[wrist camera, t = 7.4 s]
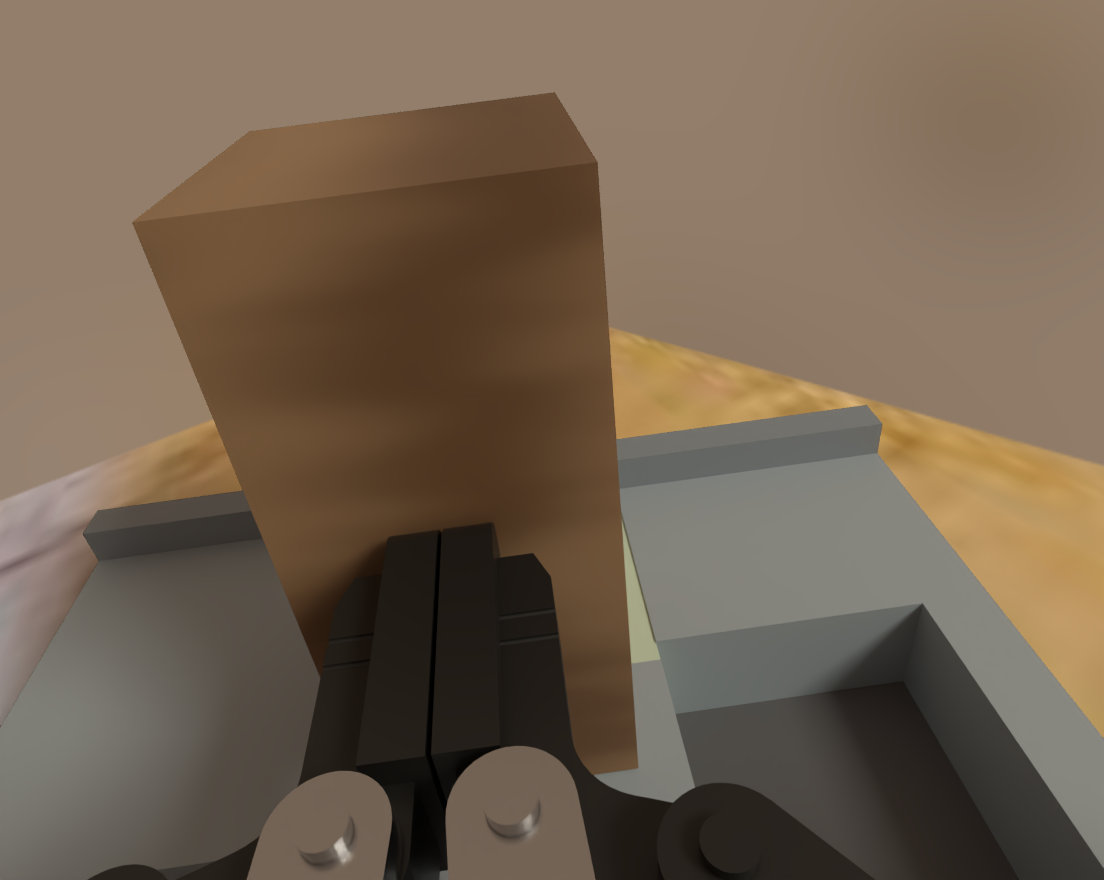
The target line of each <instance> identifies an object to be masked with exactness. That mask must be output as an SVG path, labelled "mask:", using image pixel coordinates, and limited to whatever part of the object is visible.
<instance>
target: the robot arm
mask: <svg viewBox="0 0 1104 880" xmlns="http://www.w3.org/2000/svg"><path fill="white" fill-rule="evenodd" d="M328 640H329V645H328V646H327V648H326V653H325V658H324V663H323V668H324V671H323V672H322V673H321V678H320V683H319V688H318V693H317V698H316V703H315V708H314V713H313V718H312V723H311V727H310V732H309V737H308V742H307V747H306V752H305V757H304V762H303V767H302V772H301V776H300V779H299V783H298V786H297V788H295V789H294V790H293V791H292V792H290V793H289V794H288V795H287V796H286V797H285V798H284V799H283V800H282V801H281V802H280V803H279V804H278V805H277V807H276V808H275V809H274V811H273V812H272V813H271V815H270V816H269V818H268V820H267V822H266V823H265V825H264V827H263V830H262V832H261V835H260V836H259V837H258V838H256V839H255V840H254V841H252V842H251V843H249V844H248V845H246V846H245V847H243V848H241V849H239V850H237V851H236V852H234V853H232V854H230V855H228V856H226V857H223V858H221V859H219V860H217V861H215V862H213V863H211V864H209V865H206V866H204V867H202V868H200V869H198V870H196V871H194V872H191V873H189V874H187V875H185V876H183V877H181V878H179V879H176V880H440V871H446V870H448V880H875V879H874V878H872V877H871V876H870V875H869V874H867V873H866V872H865V871H863V870H862V869H861V868H859V867H858V866H857V865H855V864H854V863H853V862H851V861H850V860H849V859H848V858H846V857H845V856H844V855H842V854H841V853H840V852H838V851H837V850H836V849H834V848H833V847H832V846H831V845H829V844H828V843H827V842H825V841H824V840H823V839H821V838H820V837H819V836H817V835H816V834H815V833H813V832H812V831H811V830H810V829H808V828H807V827H806V826H804V825H803V824H802V823H800V822H799V821H798V820H796V819H795V818H794V817H792V816H791V815H790V814H789V813H787V812H786V811H785V810H783V809H782V808H781V807H779V806H778V805H777V804H775V803H774V802H773V801H771V800H770V799H769V798H767V797H765V796H764V795H762V794H761V793H759V792H757V791H755V790H753V789H750V788H748V787H745V786H741V785H738V784H731V783H710V784H705V785H701V786H698V787H695V788H693V789H691V790H689V791H687V792H686V793H684V794H682V795H681V796H680V797H679V798H678V799H677V800H675V801H674V802H673V803H672V802H667V801H662V800H657V799H652V798H646V797H641V796H636V795H632V794H628V793H624V792H621V791H618V790H616V789H614V788H612V787H609V786H608V785H606V784H605V783H603V782H601V781H600V780H599V779H597V778H596V777H595V776H594V775H593V774H591V773H590V771H589V770H588V769H587V768H586V767H585V766H584V764H583V763H582V761H581V760H580V758H579V757H578V755H577V753H576V750H575V748H574V744H573V736H572V728H571V721H570V713H569V705H568V697H567V689H566V682H565V674H564V666H563V658H562V650H561V643H560V636H559V629H558V622H557V615H556V608H555V601H554V594H553V587H552V580H551V576H550V575H549V573H548V572H547V571H546V569H545V568H544V567H543V565H542V564H541V563H540V561H539V560H538V559H537V557H536V556H535V555H534V553H529V554H522V555H515V556H507V557H501V556H500V551H499V546H498V540H497V535H496V530H495V526H494V523H493V522H489V523H482V524H475V525H467V526H460V527H453V528H446V529H443V531H442V532H441V531H440V530H433V531H425V532H418V533H411V534H404V535H396V536H390V537H389V538H388V539H387V543H386V549H385V556H384V563H383V571H382V574H379V575H372V576H365V577H357V578H355V579H354V580H353V582H352V583H351V584H350V586H349V587H348V589H347V590H346V592H345V593H344V595H343V596H342V598H341V599H340V600H339V602H338V603H337V605H336V606H335V609H334V614H333V619H332V623H331V628H330V633H329V638H328ZM88 880H167V879H166V877H165V876H164V875H163V874H162V873H161V872H159V871H158V870H156V869H155V868H152V867H149V866H146V865H138V864H131V865H122V866H118V867H114V868H111V869H108V870H106V871H103V872H101V873H98V874H97V875H95V876H93V877H91V878H89V879H88Z"/></svg>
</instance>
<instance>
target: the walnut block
mask: <svg viewBox="0 0 1104 880" xmlns="http://www.w3.org/2000/svg"><path fill="white" fill-rule="evenodd" d="M601 223H602V222H601V208H600V193H599V178H598V164H597V161H596V159H595V157H594V156H593V154H592V152H591V151H590V149H589V148H588V146H587V145H586V143H585V141H584V139H583V138H582V136H581V135H580V133H579V132H578V130H577V128H576V126H575V125H574V123H573V122H572V120H571V118H570V116H569V115H568V113H567V112H566V110H565V108H564V107H563V105H562V103H561V102H560V100H559V99H558V97H557V95H556V94H555V93H547V94H539V95H532V96H523V97H515V98H507V99H500V100H492V101H484V102H476V103H469V104H460V105H453V106H445V107H437V108H429V109H422V110H414V111H406V112H398V113H390V114H382V115H374V116H366V117H359V118H351V119H343V120H335V121H327V122H319V123H311V124H304V125H296V126H289V127H280V128H272V129H264V130H256V131H250V132H248V133H247V134H245V136H243V137H242V138H240V139H239V140H238V141H236V142H235V143H234V144H233V145H231V146H230V147H229V148H227V149H226V150H225V151H224V152H222V153H221V154H220V155H218V156H217V157H216V158H215V159H213V160H212V161H211V162H209V163H208V164H207V165H206V166H204V167H203V168H202V169H200V170H199V171H198V172H196V173H195V174H194V175H193V176H191V177H190V178H189V179H187V180H186V181H185V182H184V183H182V184H181V185H180V186H178V187H177V188H176V189H174V190H173V191H172V192H171V193H169V194H168V195H167V196H165V197H164V198H163V199H162V200H161V201H159V202H158V203H156V204H155V205H154V206H153V207H151V208H150V209H149V210H147V211H146V212H145V213H144V214H142V215H141V216H140V217H138V218H137V219H136V220H134V221H133V226H134V228H135V230H136V233H137V235H138V238H139V240H140V243H141V245H142V247H143V250H144V252H145V255H146V257H147V259H148V262H149V264H150V267H151V269H152V272H153V274H154V276H155V279H156V281H157V284H158V286H159V289H160V291H161V293H162V296H163V298H164V301H165V303H166V306H167V308H168V310H169V313H170V315H171V318H172V320H173V322H174V325H175V327H176V330H177V332H178V335H179V337H180V339H181V342H182V344H183V346H184V349H185V352H186V354H187V356H188V359H189V361H190V364H191V366H192V368H193V371H194V373H195V376H196V378H197V381H198V383H199V385H200V388H201V390H202V393H203V395H204V398H205V400H206V402H207V405H208V407H209V410H210V412H211V415H212V417H213V419H214V422H215V424H216V427H217V429H218V432H219V434H220V436H221V439H222V441H223V444H224V446H225V448H226V451H227V453H228V456H229V458H230V461H231V463H232V465H233V468H234V470H235V473H236V475H237V478H238V480H239V482H240V485H241V487H242V490H243V492H244V494H245V497H246V499H247V502H248V504H249V507H250V509H251V511H252V514H253V516H254V519H255V521H256V524H257V526H258V528H259V531H260V533H261V536H262V538H263V541H264V543H265V545H266V548H267V550H268V553H269V555H270V557H271V560H272V562H273V565H274V567H275V570H276V572H277V574H278V577H279V579H280V582H281V584H282V587H283V589H284V591H285V594H286V596H287V599H288V601H289V604H290V606H291V608H292V611H293V613H294V616H295V618H296V620H297V623H298V625H299V628H300V630H301V633H302V635H303V637H304V640H305V642H306V645H307V647H308V650H309V652H310V654H311V657H312V659H313V662H314V664H315V667H316V669H317V671H318V674H319V676H320V678H321V673H322V672H323V671H324V668H323V663H324V658H325V653H326V648H327V646H328V645H329V640H328V638H329V633H330V628H331V623H332V619H333V614H334V609H335V606H336V605H337V603H338V602H339V600H340V599H341V598H342V596H343V595H344V593H345V592H346V590H347V589H348V587H349V586H350V584H351V583H352V582H353V580H354V579H355V578H357V577H365V576H372V575H379V574H382V571H383V563H384V556H385V549H386V543H387V539H388V538H389V537H390V536H396V535H404V534H411V533H418V532H425V531H433V530H440V531H441V532H442V531H443V529H446V528H453V527H460V526H467V525H475V524H482V523H489V522H493V523H494V526H495V530H496V535H497V540H498V546H499V551H500V556H501V557H507V556H515V555H522V554H529V553H534V555H535V556H536V557H537V559H538V560H539V561H540V563H541V564H542V565H543V567H544V568H545V569H546V571H547V572H548V573H549V575H550V576H551V580H552V587H553V594H554V601H555V608H556V615H557V622H558V629H559V636H560V643H561V650H562V658H563V666H564V674H565V682H566V689H567V697H568V705H569V713H570V721H571V728H572V736H573V744H574V748H575V750H576V753H577V755H578V757H579V758H580V760H581V761H582V763H583V764H584V766H585V767H586V768H587V769H588V770H589V771H590V773H591V774H593V775H596V774H603V773H610V772H617V771H624V770H630V769H637V768H638V754H637V739H636V724H635V709H634V695H633V680H632V665H631V650H630V636H629V621H628V606H627V591H626V577H625V562H624V547H623V532H622V518H621V503H620V488H619V473H618V459H617V444H616V429H615V414H614V399H613V385H612V370H611V355H610V340H609V326H608V312H607V296H606V281H605V268H604V252H603V238H602V224H601Z"/></svg>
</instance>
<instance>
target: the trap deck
mask: <svg viewBox="0 0 1104 880" xmlns="http://www.w3.org/2000/svg"><path fill="white" fill-rule="evenodd" d="M881 429H882V423H881V422H880V420H879V419H878V418H877V417H876V416H875V414H874V413H873V412H872V411H871V410H870V409H869V407H868V406H867V405H864V406H856V407H849V408H842V409H834V410H827V411H820V412H813V413H805V414H798V415H791V416H783V417H776V418H769V419H762V420H754V421H747V422H740V423H732V424H725V425H718V426H711V427H703V428H696V429H689V430H681V431H674V432H667V433H660V434H652V435H645V436H638V437H630V438H623V439H616V444H617V459H618V473H619V488H620V503H621V518H622V532H623V547H624V562H625V577H626V591H627V606H628V621H629V636H630V650H631V665H632V680H633V695H634V709H635V724H636V739H637V754H638V768H637V769H630V770H624V771H617V772H610V773H603V774H596V775H594V776H595V777H596V778H597V779H599V780H600V781H601V782H603V783H605V784H606V785H608V786H609V787H612V788H614V789H616V790H618V791H621V792H624V793H628V794H632V795H636V796H641V797H646V798H652V799H657V800H662V801H667V802H672V803H673V802H674V801H675V800H677V799H678V798H679V797H680V796H681V795H682V794H684V793H686V792H687V791H689V790H691V789H693V788H695V787H698V786H701V785H705V784H710V783H731V784H738V785H741V786H745V787H748V788H750V789H753V790H755V791H757V792H759V793H761V794H762V795H764V796H765V797H767V798H769V799H770V800H771V801H773V802H774V803H775V804H777V805H778V806H779V807H781V808H782V809H783V810H785V811H786V812H787V813H789V814H790V815H791V816H792V817H794V818H795V819H796V820H798V821H799V822H800V823H802V824H803V825H804V826H806V827H807V828H808V829H810V830H811V831H812V832H813V833H815V834H816V835H817V836H819V837H820V838H821V839H823V840H824V841H825V842H827V843H828V844H829V845H831V846H832V847H833V848H834V849H836V850H837V851H838V852H840V853H841V854H842V855H844V856H845V857H846V858H848V859H849V860H850V861H851V862H853V863H854V864H855V865H857V866H858V867H859V868H861V869H862V870H863V871H865V872H866V873H867V874H869V875H870V876H871V877H872V878H874V879H875V880H1104V738H1103V737H1102V736H1101V735H1100V733H1099V732H1098V731H1097V730H1096V728H1095V727H1094V726H1093V725H1092V723H1091V722H1090V721H1089V719H1088V718H1087V717H1086V716H1085V714H1084V713H1083V712H1082V711H1081V709H1080V708H1079V707H1078V706H1077V704H1076V703H1075V702H1074V701H1073V699H1072V698H1071V697H1070V696H1069V694H1068V693H1067V692H1066V690H1065V689H1064V688H1063V687H1062V685H1061V684H1060V683H1059V682H1058V680H1057V679H1056V678H1055V677H1054V675H1053V674H1052V673H1051V672H1050V670H1049V669H1048V668H1047V667H1046V665H1045V664H1044V663H1043V661H1042V660H1041V659H1040V658H1039V656H1038V655H1037V654H1036V653H1035V651H1034V650H1033V649H1032V648H1031V646H1030V645H1029V644H1028V643H1027V641H1026V640H1025V639H1024V638H1023V636H1022V635H1021V634H1020V632H1019V631H1018V630H1017V629H1016V627H1015V626H1014V625H1013V624H1012V622H1011V621H1010V620H1009V619H1008V617H1007V616H1006V615H1005V614H1004V612H1003V611H1002V610H1001V609H1000V607H999V606H998V605H997V603H996V602H995V601H994V600H993V598H992V597H991V596H990V595H989V593H988V592H987V591H986V590H985V588H984V587H983V586H982V585H981V583H980V582H979V581H978V580H977V578H976V577H975V576H974V574H973V573H972V572H971V571H970V569H969V568H968V567H967V566H966V564H965V563H964V562H963V561H962V559H961V558H960V557H959V556H958V554H957V553H956V552H955V551H954V549H953V548H952V547H951V546H950V544H949V543H948V542H947V540H946V539H945V538H944V537H943V535H942V534H941V533H940V532H939V530H938V529H937V528H936V527H935V525H934V524H933V523H932V522H931V520H930V519H929V518H928V517H927V515H926V514H925V513H924V511H923V510H922V509H921V508H920V506H919V505H918V504H917V503H916V501H915V500H914V499H913V498H912V496H911V495H910V494H909V493H908V491H907V490H906V489H905V488H904V486H903V485H902V484H901V482H900V481H899V480H898V479H897V477H896V476H895V475H894V474H893V472H892V471H891V470H890V469H889V467H888V466H887V465H886V464H885V462H884V461H883V460H882V459H881V457H880V456H879V455H878V453H877V452H878V446H879V441H880V435H881ZM83 536H84V537H85V539H86V540H87V542H88V544H89V545H90V547H91V549H92V550H93V552H94V554H95V555H96V557H97V559H98V560H99V562H98V563H97V565H96V567H95V569H94V570H93V572H92V574H91V575H90V577H89V579H88V580H87V582H86V584H85V585H84V587H83V589H82V590H81V592H80V594H79V596H78V597H77V599H76V601H75V602H74V604H73V606H72V607H71V609H70V611H69V612H68V614H67V616H66V617H65V619H64V621H63V623H62V624H61V626H60V628H59V629H58V631H57V633H56V634H55V636H54V638H53V639H52V641H51V643H50V644H49V646H48V648H47V650H46V651H45V653H44V655H43V656H42V658H41V660H40V661H39V663H38V665H37V666H36V668H35V670H34V671H33V673H32V675H31V677H30V678H29V680H28V682H27V683H26V685H25V687H24V688H23V690H22V692H21V693H20V695H19V697H18V699H17V700H16V702H15V704H14V705H13V707H12V709H11V710H10V712H9V714H8V715H7V717H6V719H5V720H4V722H3V724H2V726H1V727H0V880H88V879H89V878H91V877H93V876H95V875H97V874H98V873H101V872H103V871H106V870H108V869H111V868H114V867H118V866H122V865H131V864H138V865H146V866H149V867H152V868H155V869H156V870H158V871H159V872H161V873H162V874H163V875H164V876H165V877H166V879H167V880H176V879H179V878H181V877H183V876H185V875H187V874H189V873H191V872H194V871H196V870H198V869H200V868H202V867H204V866H206V865H209V864H211V863H213V862H215V861H217V860H219V859H221V858H223V857H226V856H228V855H230V854H232V853H234V852H236V851H237V850H239V849H241V848H243V847H245V846H246V845H248V844H249V843H251V842H252V841H254V840H255V839H256V838H258V837H259V836H260V835H261V832H262V830H263V827H264V825H265V823H266V822H267V820H268V818H269V816H270V815H271V813H272V812H273V811H274V809H275V808H276V807H277V805H278V804H279V803H280V802H281V801H282V800H283V799H284V798H285V797H286V796H287V795H288V794H289V793H290V792H292V791H293V790H294V789H295V788H297V786H298V783H299V779H300V776H301V772H302V767H303V762H304V757H305V752H306V747H307V742H308V737H309V732H310V727H311V723H312V718H313V713H314V708H315V703H316V698H317V693H318V688H319V683H320V676H319V674H318V671H317V669H316V667H315V664H314V662H313V659H312V657H311V654H310V652H309V650H308V647H307V645H306V642H305V640H304V637H303V635H302V633H301V630H300V628H299V625H298V623H297V620H296V618H295V616H294V613H293V611H292V608H291V606H290V604H289V601H288V599H287V596H286V594H285V591H284V589H283V587H282V584H281V582H280V579H279V577H278V574H277V572H276V570H275V567H274V565H273V562H272V560H271V557H270V555H269V553H268V550H267V548H266V545H265V543H264V541H263V538H262V536H261V533H260V531H259V528H258V526H257V524H256V521H255V519H254V516H253V514H252V511H251V509H250V507H249V504H248V502H247V499H246V497H245V494H244V492H243V491H237V492H230V493H222V494H215V495H208V496H200V497H193V498H186V499H179V500H171V501H164V502H157V503H149V504H142V505H135V506H128V507H120V508H113V509H106V510H98V511H97V513H96V514H95V516H94V517H93V519H92V520H91V522H90V523H89V525H88V526H87V528H86V530H85V531H84V533H83ZM440 880H448V870H446V871H440Z"/></svg>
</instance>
